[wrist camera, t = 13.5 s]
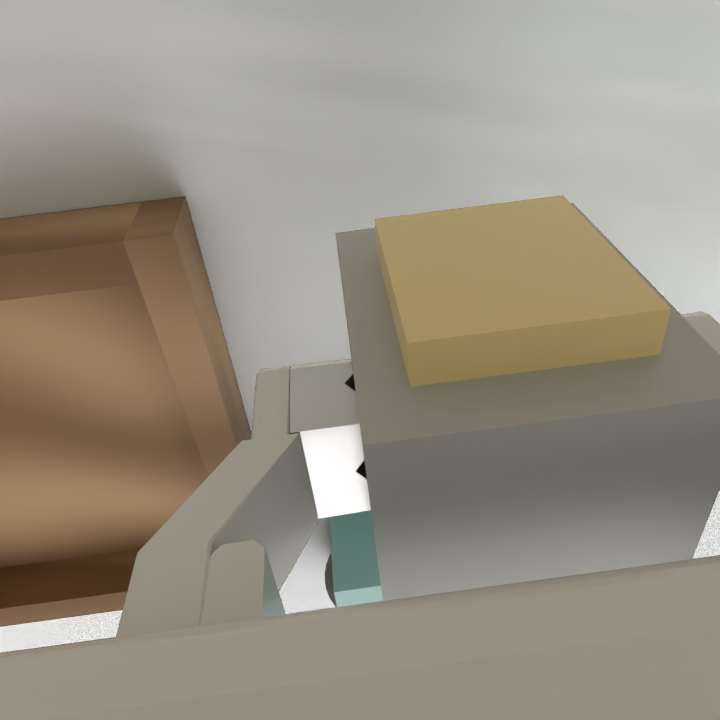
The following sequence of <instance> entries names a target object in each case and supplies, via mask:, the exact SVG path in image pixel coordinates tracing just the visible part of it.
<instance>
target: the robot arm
mask: <svg viewBox="0 0 720 720" xmlns="http://www.w3.org/2000/svg"><path fill="white" fill-rule="evenodd" d="M682 316H683V317H684V318H685V319H686V320H687V322H688V323H689V324H690V325H691V326H692V327H693V328H694V329H695V330H696V331H697V332H698V333H699V334H700V335H701V336H702V337H703V338H704V339H705V340H706V341H707V342H708V343H709V344H710V345H711V346H712V347H713V348H714V349H715V350H716V351H717V352H718V354H719V355H720V324H719V323H718V322H717V321H716V320H715V319H714V318H713V317H711V316H710V315H709V314H706V313H703V312H695V313H689V314H682ZM719 490H720V489H719ZM369 510H371V507H370V499H369V491H368V484H367V476H366V468H365V461H364V453H363V445H362V437H361V429H360V422H359V414H358V406H357V398H356V390H355V382H354V374H353V366H352V359H346V360H336V361H327V362H318V363H309V364H300V365H291V367H290V366H283V367H275V368H267V369H260V370H259V372H258V373H257V376H256V388H255V400H254V411H253V423H252V435H251V439H250V440H243V441H241V442H240V443H239V444H238V445H237V446H236V447H235V448H234V450H233V451H232V452H231V453H230V454H229V455H228V456H227V457H226V458H225V459H224V460H223V461H222V462H221V464H220V465H219V466H218V467H217V468H216V469H215V470H214V471H213V472H212V473H211V474H210V475H209V476H208V477H207V479H206V480H205V481H204V482H203V483H202V484H201V485H200V486H199V487H198V488H197V489H196V490H195V491H194V493H193V494H192V495H191V496H190V497H189V498H188V499H187V500H186V501H185V502H184V503H183V504H182V505H181V506H180V508H179V509H178V510H177V511H176V512H175V513H174V514H173V515H172V516H171V517H170V518H169V519H168V520H167V522H166V523H165V524H164V525H163V526H162V527H161V528H160V529H159V530H158V531H157V532H156V533H155V534H154V535H153V537H152V538H151V539H150V540H149V541H148V542H147V543H146V544H145V545H144V546H143V547H142V548H141V549H140V551H139V552H138V553H137V556H136V560H135V564H134V568H133V572H132V576H131V580H130V584H129V588H128V592H127V596H126V600H125V604H124V607H123V611H122V615H121V619H120V623H119V627H118V631H117V635H116V637H114V638H106V639H99V640H91V641H84V642H77V643H69V644H62V645H55V646H47V647H40V648H33V649H25V650H18V651H11V652H3V653H0V720H720V555H718V556H711V557H704V558H696V559H689V560H682V561H674V562H667V563H659V564H652V565H645V566H637V567H630V568H622V569H615V570H608V571H600V572H593V573H586V574H578V575H571V576H563V577H556V578H549V579H541V580H534V581H526V582H519V583H512V584H504V585H497V586H490V587H482V588H475V589H467V590H460V591H453V592H445V593H438V594H431V595H423V596H416V597H408V598H401V599H394V600H386V601H379V602H372V603H364V604H357V605H349V606H342V607H335V608H327V609H320V610H313V611H305V612H298V613H290V614H285V611H284V607H283V604H282V601H281V598H280V595H279V591H280V589H281V587H282V586H283V584H284V582H285V580H286V579H287V577H288V575H289V573H290V571H291V570H292V568H293V566H294V564H295V563H296V561H297V559H298V557H299V556H300V554H301V552H302V550H303V548H304V547H305V545H306V543H307V541H308V540H309V538H310V536H311V534H312V533H313V531H314V529H315V527H316V525H317V524H318V522H319V521H318V519H319V518H326V517H332V516H338V515H344V514H350V513H357V512H363V511H369Z"/></svg>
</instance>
